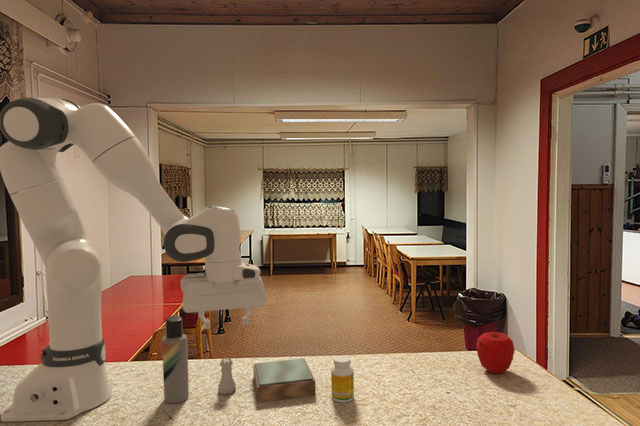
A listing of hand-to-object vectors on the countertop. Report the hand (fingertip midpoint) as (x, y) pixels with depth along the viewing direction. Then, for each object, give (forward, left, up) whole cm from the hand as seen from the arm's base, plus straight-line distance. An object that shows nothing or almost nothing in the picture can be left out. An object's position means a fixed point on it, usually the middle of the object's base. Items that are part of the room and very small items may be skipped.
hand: (226, 326), depth 108 cm
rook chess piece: (0, 0, -17) cm, 17 cm away
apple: (+71, -7, -17) cm, 73 cm away
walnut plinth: (+14, -1, -16) cm, 21 cm away
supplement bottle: (+27, -11, -17) cm, 33 cm away
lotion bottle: (-12, -1, -17) cm, 21 cm away
